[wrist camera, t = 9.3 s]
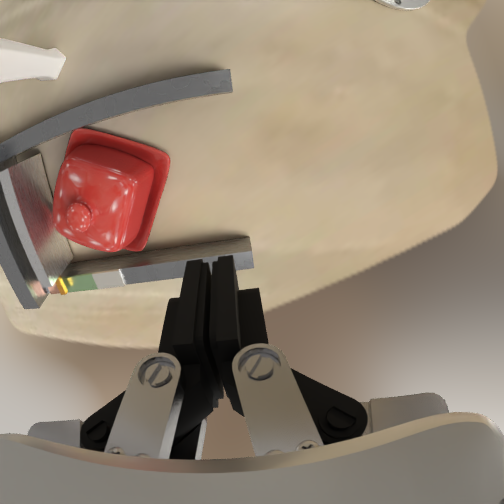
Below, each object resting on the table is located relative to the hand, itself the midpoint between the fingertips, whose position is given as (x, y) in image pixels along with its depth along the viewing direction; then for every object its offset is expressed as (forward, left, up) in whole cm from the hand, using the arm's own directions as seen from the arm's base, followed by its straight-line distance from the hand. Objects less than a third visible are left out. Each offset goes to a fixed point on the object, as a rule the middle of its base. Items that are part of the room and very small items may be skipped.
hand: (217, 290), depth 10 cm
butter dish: (0, -12, -19) cm, 23 cm away
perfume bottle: (-16, -16, -19) cm, 29 cm away
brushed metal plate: (+1, -20, -18) cm, 27 cm away
